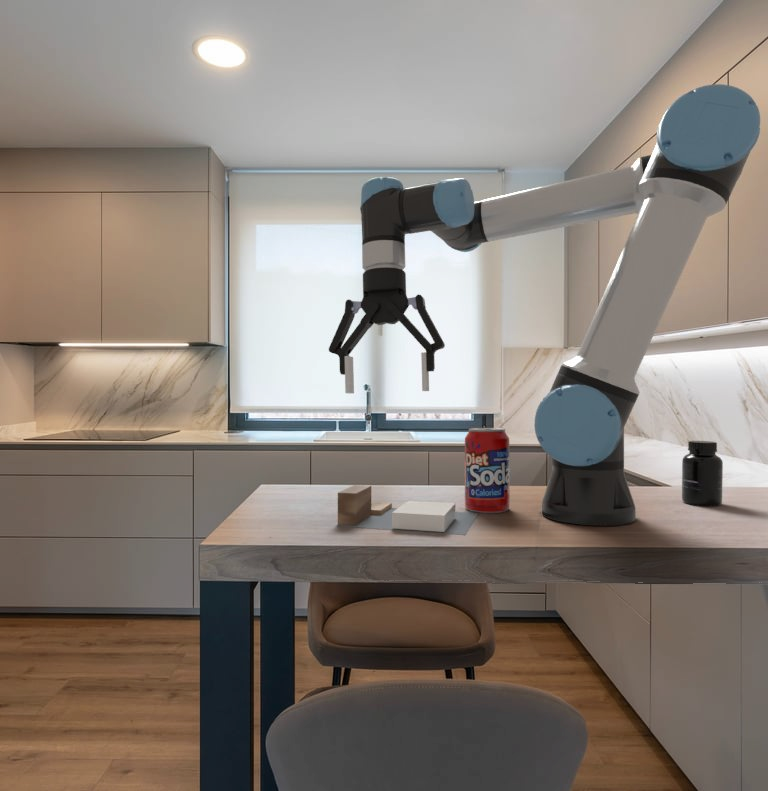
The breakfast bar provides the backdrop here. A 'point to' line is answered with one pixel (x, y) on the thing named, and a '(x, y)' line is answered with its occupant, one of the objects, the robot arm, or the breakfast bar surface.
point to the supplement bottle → (702, 474)
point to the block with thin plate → (358, 505)
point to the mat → (385, 522)
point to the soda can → (487, 470)
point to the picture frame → (424, 516)
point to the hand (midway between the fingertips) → (387, 392)
